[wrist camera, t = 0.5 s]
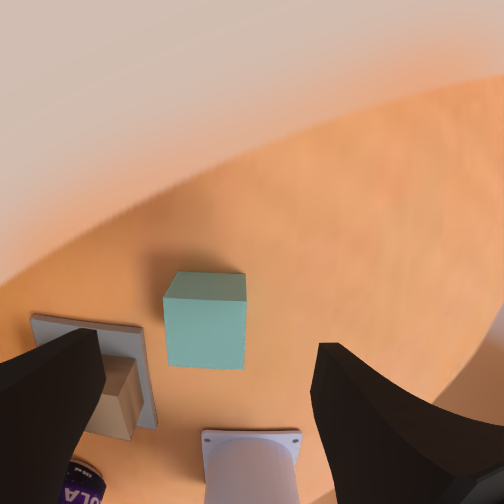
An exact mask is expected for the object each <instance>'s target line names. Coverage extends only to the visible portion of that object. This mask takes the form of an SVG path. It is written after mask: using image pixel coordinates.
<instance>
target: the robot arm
mask: <svg viewBox="0 0 504 504" xmlns="http://www.w3.org/2000/svg"><path fill="white" fill-rule="evenodd" d="M105 382H106V374H105V370H104V365H103V361H102V356H101V351H100V346H99V340H98V335H97V330H95V329H87V328H79V329H76V330H73V331H71V332H68V333H66V334H64V335H62V336H60V337H58V338H56V339H54V340H52V341H50V342H47V343H45V344H43V345H41V346H39V347H37V348H35V349H33V350H31V351H28V352H26V353H24V354H22V355H19V356H17V357H15V358H13V359H10V360H8V361H5V362H3V363H0V504H58V501H59V497H60V493H61V489H62V485H63V481H64V478H65V475H66V471H67V468H68V465H69V462H70V459H71V457H72V454H73V452H74V450H75V448H76V446H77V444H78V442H79V440H80V438H81V436H82V434H83V432H84V430H85V428H86V426H87V424H88V422H89V420H90V418H91V416H92V414H93V412H94V410H95V408H96V406H97V404H98V402H99V400H100V397H101V394H102V391H103V388H104V385H105ZM310 395H311V402H312V408H313V413H314V418H315V422H316V425H317V428H318V431H319V435H320V438H321V441H322V444H323V447H324V450H325V453H326V457H327V460H328V463H329V466H330V469H331V473H332V477H333V481H334V486H335V492H336V497H337V503H338V504H504V426H500V425H494V424H489V423H485V422H481V421H477V420H473V419H470V418H466V417H463V416H460V415H457V414H454V413H452V412H449V411H446V410H444V409H441V408H439V407H437V406H434V405H432V404H430V403H428V402H426V401H424V400H422V399H420V398H418V397H416V396H414V395H412V394H411V393H409V392H407V391H405V390H404V389H402V388H400V387H399V386H397V385H396V384H394V383H393V382H391V381H389V380H388V379H387V378H385V377H384V376H382V375H381V374H379V373H378V372H377V371H375V370H374V369H372V368H371V367H370V366H368V365H367V364H366V363H364V362H363V361H362V360H361V359H359V358H358V357H357V356H355V355H354V354H353V353H352V352H350V351H349V350H348V349H346V348H345V347H344V346H342V345H341V344H339V343H338V342H337V343H319V348H318V353H317V359H316V364H315V370H314V375H313V380H312V385H311V390H310ZM302 437H303V436H302V432H301V431H298V430H295V431H222V430H203V431H202V432H201V442H202V453H203V463H204V472H205V481H206V487H205V500H204V504H300V500H299V494H298V488H297V482H296V476H295V470H294V469H295V465H296V461H297V457H298V453H299V449H300V445H301V441H302ZM294 439H296V440H294Z"/></svg>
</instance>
